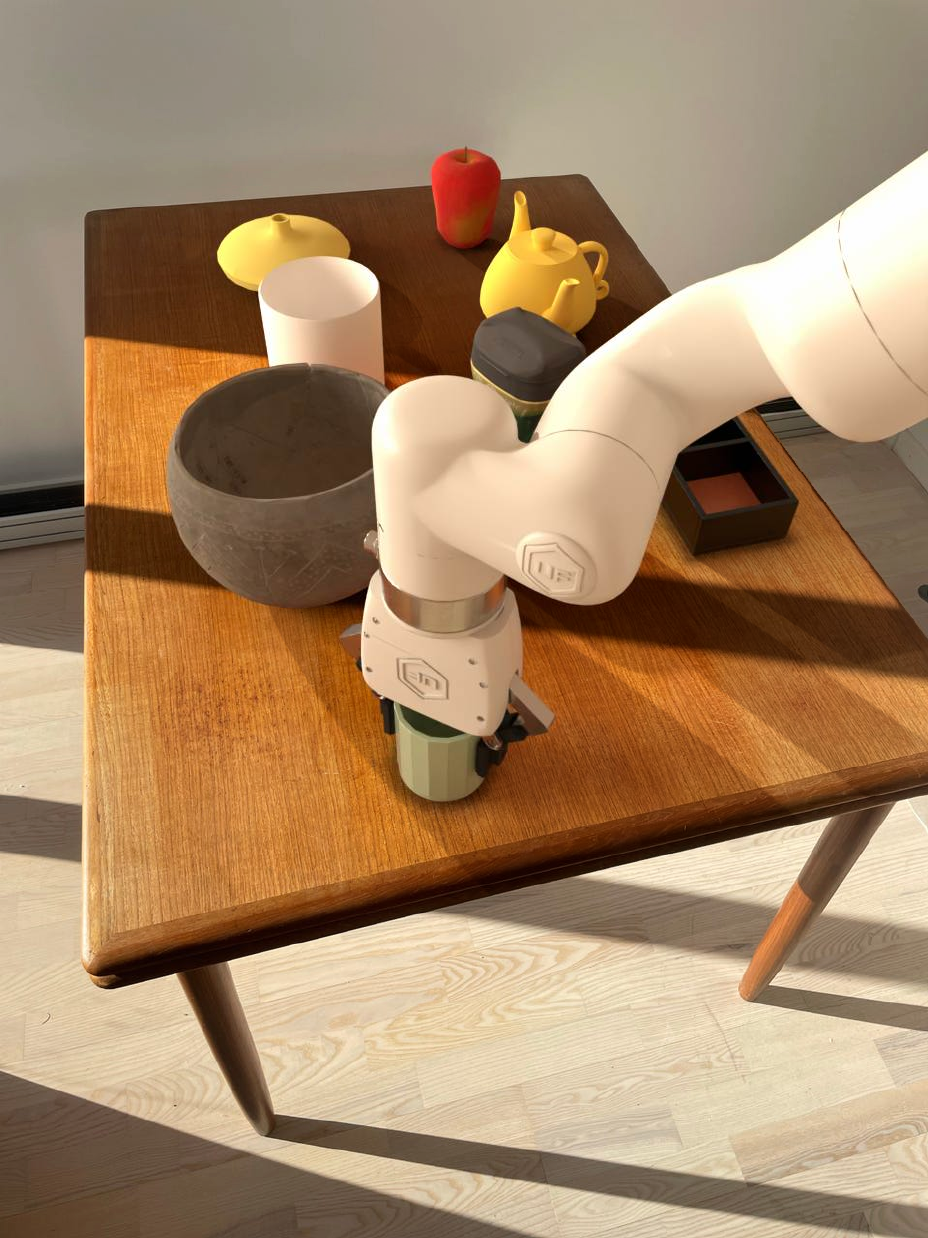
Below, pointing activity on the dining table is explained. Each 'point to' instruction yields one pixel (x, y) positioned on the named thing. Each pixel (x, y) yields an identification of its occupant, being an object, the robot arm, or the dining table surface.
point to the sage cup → (435, 756)
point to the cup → (323, 315)
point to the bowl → (280, 483)
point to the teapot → (544, 275)
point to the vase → (276, 246)
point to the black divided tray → (727, 492)
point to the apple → (465, 196)
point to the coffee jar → (524, 362)
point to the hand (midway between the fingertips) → (443, 739)
